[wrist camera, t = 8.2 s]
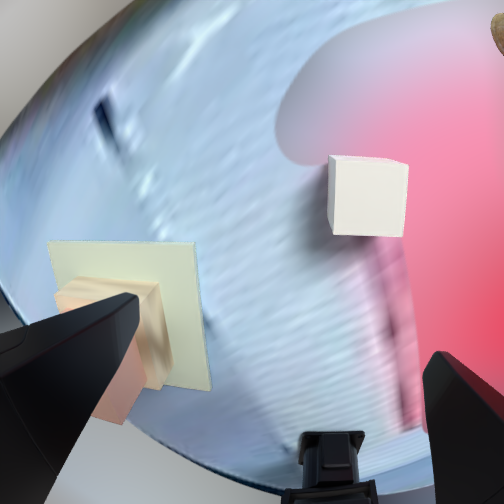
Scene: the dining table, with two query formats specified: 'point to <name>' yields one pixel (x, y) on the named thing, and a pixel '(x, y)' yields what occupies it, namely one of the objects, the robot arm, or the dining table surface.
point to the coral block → (122, 387)
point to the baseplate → (153, 270)
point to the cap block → (366, 196)
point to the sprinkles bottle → (498, 31)
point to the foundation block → (150, 326)
